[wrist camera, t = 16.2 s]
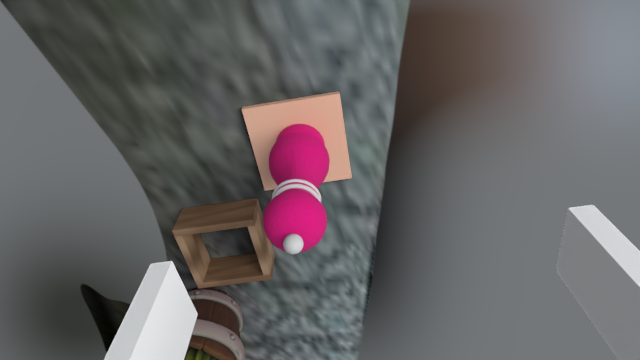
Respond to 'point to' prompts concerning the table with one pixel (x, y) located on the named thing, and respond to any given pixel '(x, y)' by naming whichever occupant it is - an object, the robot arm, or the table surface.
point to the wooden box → (225, 267)
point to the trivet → (307, 110)
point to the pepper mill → (297, 189)
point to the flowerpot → (215, 327)
